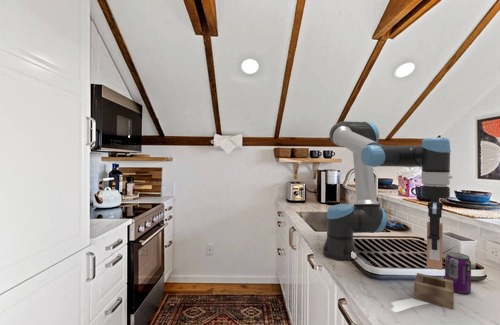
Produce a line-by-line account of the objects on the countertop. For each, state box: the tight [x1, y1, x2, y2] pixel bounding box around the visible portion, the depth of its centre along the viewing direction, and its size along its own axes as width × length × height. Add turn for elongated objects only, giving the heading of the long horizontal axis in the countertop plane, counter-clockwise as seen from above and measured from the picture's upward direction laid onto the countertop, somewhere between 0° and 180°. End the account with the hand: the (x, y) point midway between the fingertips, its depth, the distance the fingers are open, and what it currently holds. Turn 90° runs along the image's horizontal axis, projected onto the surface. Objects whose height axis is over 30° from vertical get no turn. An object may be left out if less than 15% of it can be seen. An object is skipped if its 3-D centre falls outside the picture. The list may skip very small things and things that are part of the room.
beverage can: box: [444, 251, 472, 294], centre depth 91 cm, size 7×7×12 cm
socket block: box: [413, 272, 455, 310], centre depth 86 cm, size 10×10×5 cm
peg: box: [426, 221, 444, 271], centre depth 86 cm, size 4×4×14 cm
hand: (434, 257), depth 86 cm, fingers closed on peg, 4 cm apart
